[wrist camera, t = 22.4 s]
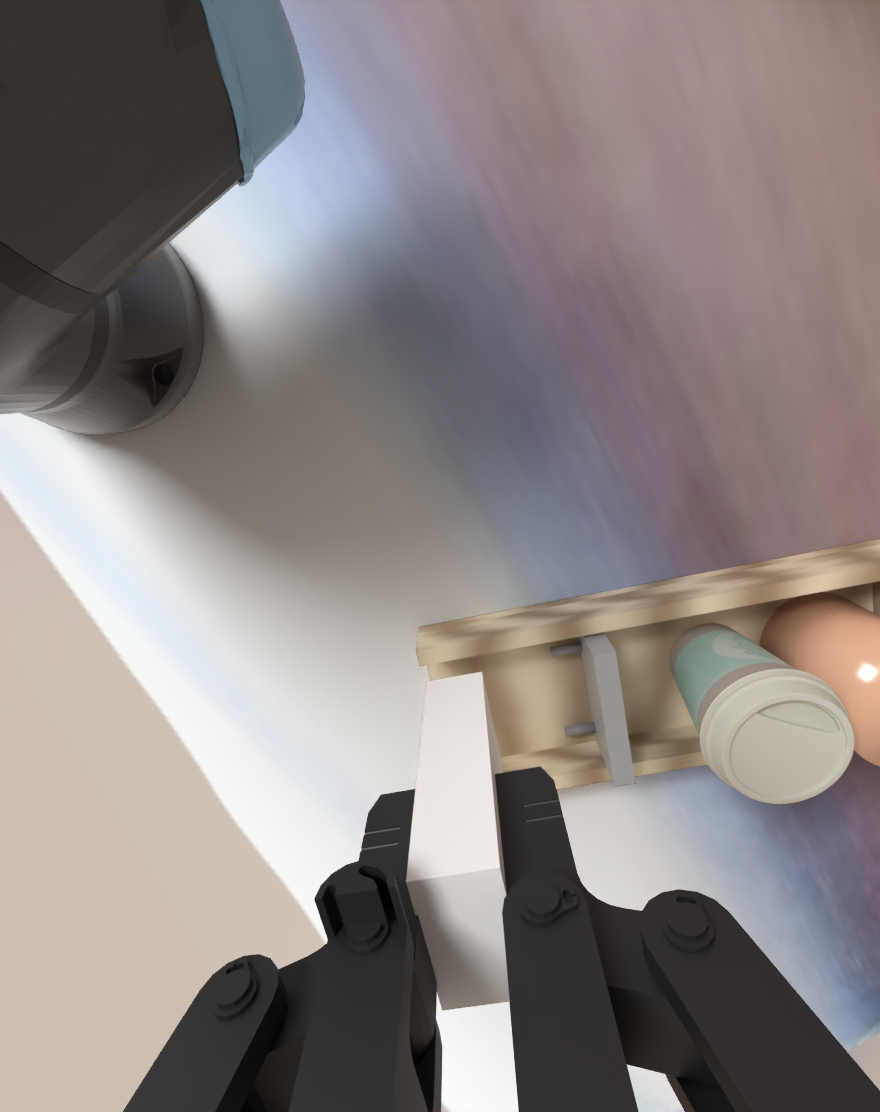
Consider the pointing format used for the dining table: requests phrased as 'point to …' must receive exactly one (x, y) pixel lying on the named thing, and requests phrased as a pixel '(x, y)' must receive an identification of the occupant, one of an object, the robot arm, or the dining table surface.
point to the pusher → (603, 704)
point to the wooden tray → (625, 656)
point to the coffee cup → (760, 716)
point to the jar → (834, 656)
